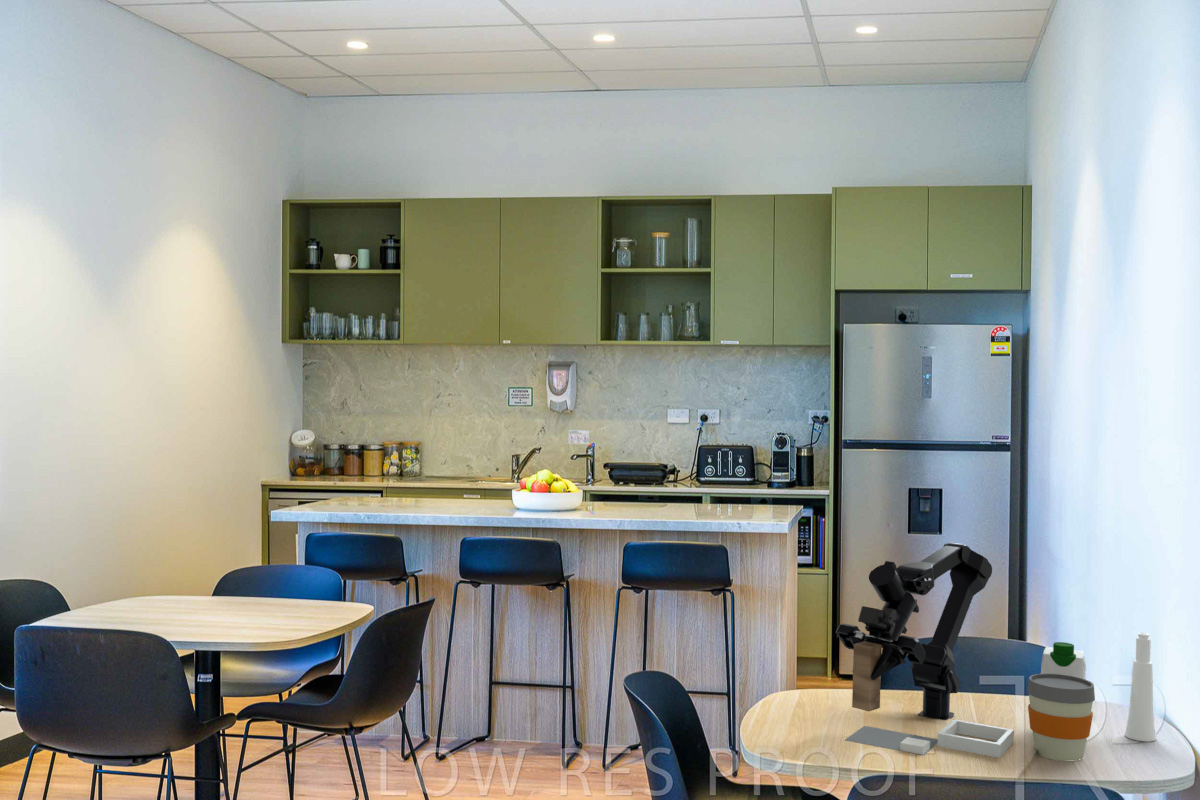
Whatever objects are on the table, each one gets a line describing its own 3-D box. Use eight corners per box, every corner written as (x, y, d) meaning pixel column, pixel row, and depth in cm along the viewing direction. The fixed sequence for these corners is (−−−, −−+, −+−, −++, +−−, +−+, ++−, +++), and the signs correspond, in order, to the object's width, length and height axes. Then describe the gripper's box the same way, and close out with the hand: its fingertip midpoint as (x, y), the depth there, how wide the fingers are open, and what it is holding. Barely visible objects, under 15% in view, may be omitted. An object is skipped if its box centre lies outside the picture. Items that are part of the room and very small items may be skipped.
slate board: (864, 732, 240) (864, 725, 240) (940, 747, 232) (941, 739, 232) (844, 747, 230) (844, 739, 230) (923, 763, 221) (924, 755, 221)
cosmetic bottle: (1135, 731, 246) (1138, 629, 246) (1162, 739, 241) (1165, 635, 241) (1118, 735, 243) (1121, 632, 242) (1145, 743, 238) (1149, 638, 237)
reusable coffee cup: (1097, 753, 230) (1099, 679, 230) (1088, 771, 219) (1090, 693, 219) (1031, 742, 236) (1033, 670, 236) (1019, 758, 225) (1022, 683, 225)
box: (953, 738, 238) (953, 719, 238) (1013, 749, 231) (1013, 729, 231) (937, 753, 227) (937, 733, 227) (999, 765, 221) (1000, 744, 221)
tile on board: (907, 744, 228) (907, 736, 228) (929, 748, 226) (929, 741, 226) (900, 750, 224) (900, 742, 224) (923, 754, 222) (923, 747, 222)
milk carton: (1037, 739, 238) (1040, 644, 238) (1040, 728, 247) (1043, 635, 246) (1083, 746, 235) (1086, 649, 234) (1084, 734, 243) (1087, 640, 243)
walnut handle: (863, 703, 237) (864, 641, 237) (879, 708, 234) (881, 644, 234) (852, 707, 234) (853, 644, 234) (868, 711, 232) (870, 647, 231)
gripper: (841, 585, 244) (809, 644, 236) (920, 598, 230) (888, 661, 223) (862, 617, 249) (830, 676, 242) (939, 632, 235) (909, 695, 228)
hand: (863, 676), depth 233 cm, fingers closed on walnut handle, 4 cm apart
